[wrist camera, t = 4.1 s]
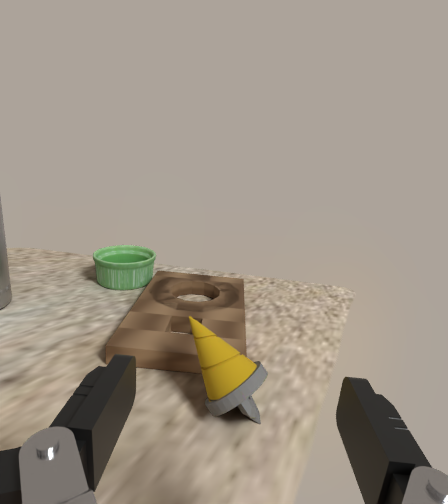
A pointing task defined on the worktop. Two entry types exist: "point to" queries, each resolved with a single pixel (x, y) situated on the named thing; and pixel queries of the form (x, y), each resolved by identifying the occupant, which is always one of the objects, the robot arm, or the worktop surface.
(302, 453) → the worktop surface
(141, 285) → the ramekin
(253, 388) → the drill bit
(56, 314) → the worktop surface
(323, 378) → the worktop surface
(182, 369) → the socket board
